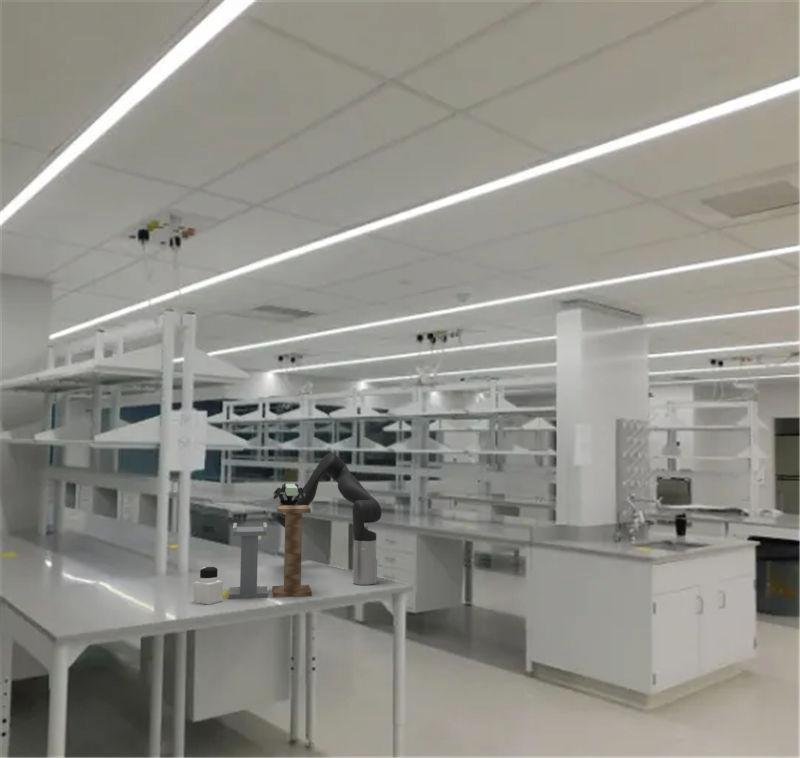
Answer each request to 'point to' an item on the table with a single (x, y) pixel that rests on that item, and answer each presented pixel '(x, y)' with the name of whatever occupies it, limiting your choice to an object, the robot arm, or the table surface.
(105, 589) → the table surface
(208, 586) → the medicine bottle
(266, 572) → the table surface
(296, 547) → the brown pedestal stand
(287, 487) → the slide box
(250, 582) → the gray pedestal stand
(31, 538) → the table surface
